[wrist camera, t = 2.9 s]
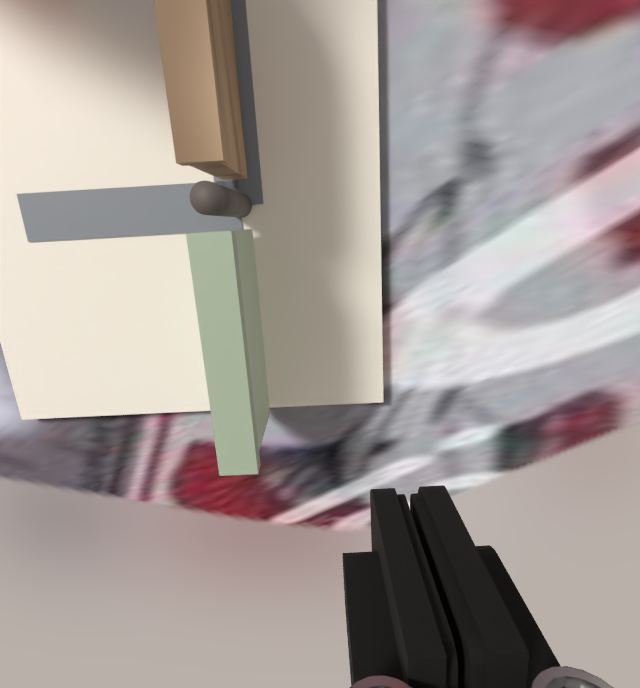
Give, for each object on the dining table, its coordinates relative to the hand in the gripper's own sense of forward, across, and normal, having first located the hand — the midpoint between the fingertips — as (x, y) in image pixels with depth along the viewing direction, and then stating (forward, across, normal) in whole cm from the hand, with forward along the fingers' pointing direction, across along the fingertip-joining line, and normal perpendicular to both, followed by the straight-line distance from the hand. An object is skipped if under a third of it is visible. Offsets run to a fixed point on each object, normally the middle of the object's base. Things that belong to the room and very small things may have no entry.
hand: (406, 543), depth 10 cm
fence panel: (+11, +5, -3) cm, 12 cm away
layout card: (+12, +8, -8) cm, 16 cm away
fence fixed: (+11, +5, -13) cm, 17 cm away
